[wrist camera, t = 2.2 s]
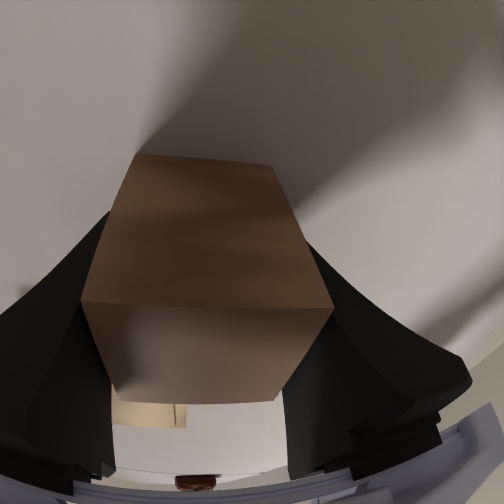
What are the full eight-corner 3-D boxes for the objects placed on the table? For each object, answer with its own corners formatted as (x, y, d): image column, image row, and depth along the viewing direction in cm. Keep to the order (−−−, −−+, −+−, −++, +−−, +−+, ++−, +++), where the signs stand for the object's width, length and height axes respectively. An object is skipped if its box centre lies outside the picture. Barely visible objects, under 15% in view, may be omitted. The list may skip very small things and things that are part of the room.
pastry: (215, 473, 59) (217, 494, 54) (216, 477, 66) (218, 495, 62) (171, 474, 57) (173, 495, 52) (177, 479, 65) (179, 496, 60)
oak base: (186, 330, 15) (188, 376, 13) (183, 399, 21) (185, 430, 19) (17, 314, 13) (4, 355, 11) (65, 389, 19) (61, 418, 17)
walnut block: (271, 166, 10) (334, 307, 5) (245, 264, 13) (273, 400, 8) (135, 154, 9) (80, 300, 4) (137, 258, 12) (120, 400, 7)
